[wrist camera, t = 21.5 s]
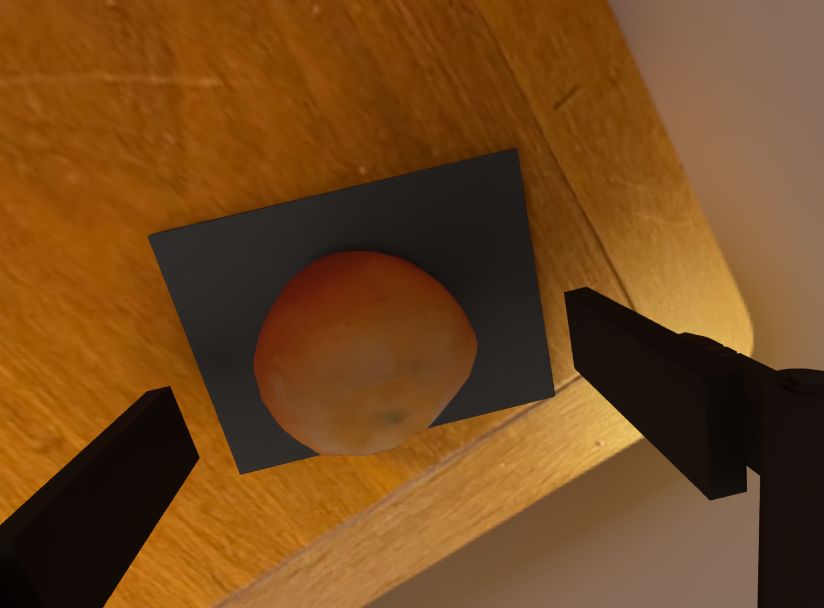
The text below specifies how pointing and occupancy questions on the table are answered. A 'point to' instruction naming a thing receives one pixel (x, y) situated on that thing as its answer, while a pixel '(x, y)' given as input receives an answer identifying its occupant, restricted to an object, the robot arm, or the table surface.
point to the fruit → (362, 353)
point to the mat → (364, 231)
